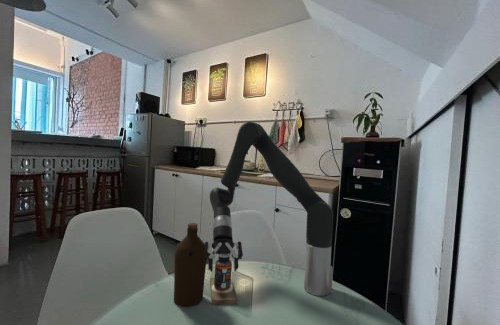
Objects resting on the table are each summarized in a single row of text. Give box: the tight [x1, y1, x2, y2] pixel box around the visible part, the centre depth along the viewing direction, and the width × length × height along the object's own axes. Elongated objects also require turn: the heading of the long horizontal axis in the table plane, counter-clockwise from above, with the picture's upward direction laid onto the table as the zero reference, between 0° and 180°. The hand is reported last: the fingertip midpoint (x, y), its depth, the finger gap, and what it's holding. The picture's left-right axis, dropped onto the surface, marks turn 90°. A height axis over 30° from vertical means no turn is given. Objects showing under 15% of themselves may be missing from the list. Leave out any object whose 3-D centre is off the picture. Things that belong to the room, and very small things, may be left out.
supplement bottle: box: [213, 254, 233, 290], centre depth 87 cm, size 6×6×11 cm
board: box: [209, 277, 238, 306], centre depth 87 cm, size 8×16×2 cm, turn 11°
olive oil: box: [173, 222, 208, 308], centre depth 81 cm, size 11×11×25 cm
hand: (223, 270), depth 86 cm, fingers open, 8 cm apart
